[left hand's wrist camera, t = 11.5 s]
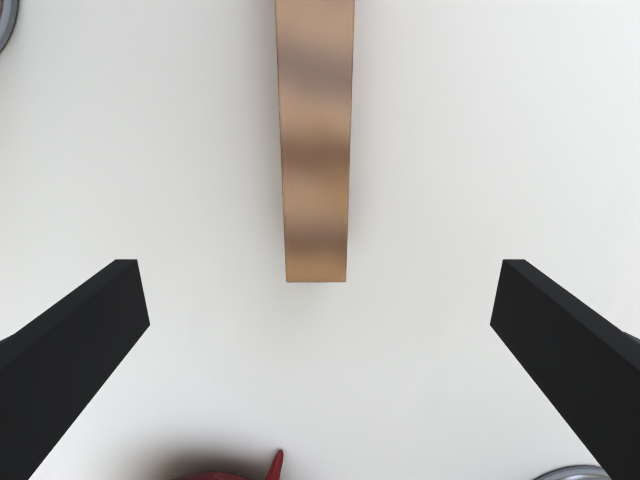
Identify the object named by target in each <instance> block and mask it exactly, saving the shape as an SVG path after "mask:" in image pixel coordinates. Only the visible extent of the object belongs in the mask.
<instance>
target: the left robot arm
mask: <svg viewBox="0 0 640 480" xmlns="http://www.w3.org/2000/svg"><path fill="white" fill-rule="evenodd" d="M149 326H150V322H149V317H148V312H147V307H146V302H145V297H144V292H143V287H142V282H141V277H140V272H139V267H138V262H137V259H116V260H114V261H113V262H111V263H110V264H109V265H107V266H106V267H105V268H103V269H102V270H101V271H99V272H98V273H97V274H95V275H94V276H92V277H91V278H90V279H88V280H87V281H86V282H84V283H83V284H82V285H80V286H79V287H77V288H76V289H75V290H73V291H72V292H71V293H69V294H68V295H67V296H65V297H64V298H63V299H61V300H60V301H58V302H57V303H56V304H54V305H53V306H52V307H50V308H49V309H48V310H46V311H45V312H43V313H42V314H41V315H39V316H38V317H37V318H35V319H34V320H33V321H31V322H30V323H28V324H27V325H26V326H24V327H23V328H22V329H20V330H19V331H18V332H16V333H15V334H13V335H11V336H9V337H7V338H5V339H3V340H1V341H0V480H28V479H29V478H30V477H31V475H32V474H33V473H34V472H35V470H36V469H37V468H38V467H39V465H40V464H41V463H42V462H43V460H44V459H45V458H46V456H47V455H48V454H49V453H50V451H51V450H52V449H53V448H54V446H55V445H56V444H57V442H58V441H59V440H60V439H61V437H62V436H63V435H64V434H65V432H66V431H67V430H68V429H69V427H70V426H71V425H72V423H73V422H74V421H75V420H76V418H77V417H78V416H79V415H80V413H81V412H82V411H83V409H84V408H85V407H86V406H87V404H88V403H89V402H90V401H91V399H92V398H93V397H94V396H95V394H96V393H97V392H98V390H99V389H100V388H101V387H102V385H103V384H104V383H105V382H106V380H107V379H108V378H109V376H110V375H111V374H112V373H113V371H114V370H115V369H116V368H117V366H118V365H119V364H120V362H121V361H122V360H123V359H124V357H125V356H126V355H127V354H128V352H129V351H130V350H131V349H132V347H133V346H134V345H135V343H136V342H137V341H138V340H139V338H140V337H141V336H142V335H143V333H144V332H145V331H146V329H147V328H148V327H149ZM490 326H491V327H492V328H493V329H494V331H495V332H496V333H497V335H498V336H499V337H500V338H501V340H502V341H503V342H504V343H505V345H506V346H507V347H508V349H509V350H510V351H511V352H512V354H513V355H514V356H515V357H516V359H517V360H518V361H519V362H520V364H521V365H522V366H523V368H524V369H525V370H526V371H527V373H528V374H529V375H530V376H531V378H532V379H533V380H534V382H535V383H536V384H537V385H538V387H539V388H540V389H541V390H542V392H543V393H544V394H545V396H546V397H547V398H548V399H549V401H550V402H551V403H552V404H553V406H554V407H555V408H556V409H557V411H558V412H559V413H560V415H561V416H562V417H563V418H564V420H565V421H566V422H567V423H568V425H569V426H570V427H571V429H572V430H573V431H574V432H575V434H576V435H577V436H578V437H579V439H580V440H581V441H582V442H583V444H584V445H585V446H586V448H587V449H588V450H589V451H590V453H591V454H592V455H593V456H594V458H595V459H596V460H597V462H598V463H599V464H600V465H601V467H602V468H599V467H591V466H577V467H570V468H564V469H560V470H557V471H554V472H551V473H549V474H546V475H544V476H542V477H540V478H538V479H537V480H640V339H638V338H636V337H634V336H632V335H630V334H628V333H626V332H622V331H621V330H620V329H618V328H617V327H616V326H614V325H613V324H612V323H610V322H609V321H607V320H606V319H605V318H603V317H602V316H601V315H599V314H598V313H597V312H595V311H594V310H592V309H591V308H590V307H588V306H587V305H586V304H584V303H583V302H582V301H580V300H579V299H577V298H576V297H575V296H573V295H572V294H571V293H569V292H568V291H567V290H565V289H564V288H563V287H561V286H560V285H558V284H557V283H556V282H554V281H553V280H552V279H550V278H549V277H548V276H546V275H545V274H543V273H542V272H541V271H539V270H538V269H537V268H535V267H534V266H533V265H531V264H530V263H529V262H527V261H526V260H524V259H503V262H502V267H501V272H500V277H499V282H498V287H497V292H496V297H495V302H494V307H493V312H492V317H491V322H490Z"/></svg>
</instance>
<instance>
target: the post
mask: <svg viewBox="0 0 640 480" xmlns="http://www.w3.org/2000/svg"><path fill="white" fill-rule="evenodd" d="M354 4H355V0H275V16H276V41H277V66H278V91H279V115H280V140H281V165H282V190H283V215H284V240H285V264H286V282H346V262H347V230H348V198H349V166H350V133H351V101H352V69H353V36H354Z"/></svg>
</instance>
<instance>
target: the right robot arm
mask: <svg viewBox="0 0 640 480" xmlns="http://www.w3.org/2000/svg"><path fill="white" fill-rule="evenodd" d="M17 3H18V0H0V50H1V49H2V48H3V46H4V45H5V43H6V42H7V40H8V38H9V36H10V34H11V31H12V28H13V25H14V22H15V17H16V12H17Z"/></svg>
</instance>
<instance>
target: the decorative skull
mask: <svg viewBox="0 0 640 480" xmlns="http://www.w3.org/2000/svg"><path fill="white" fill-rule="evenodd" d="M282 463H283V452H282V450H281V451H278V453H277V455H276V457H275V459H274V461H273V463H272V465H271V468H270V470H269V473H268V475H267V477H266V479H265V480H279V478H280V472H281V467H282ZM172 480H250V479H247V478H244V477H240V476H237V475H234V474H230V473H223V472H215V471H211V472H200V473H195V474H190V475H187V476H183V477H179V478H175V479H172Z"/></svg>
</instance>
